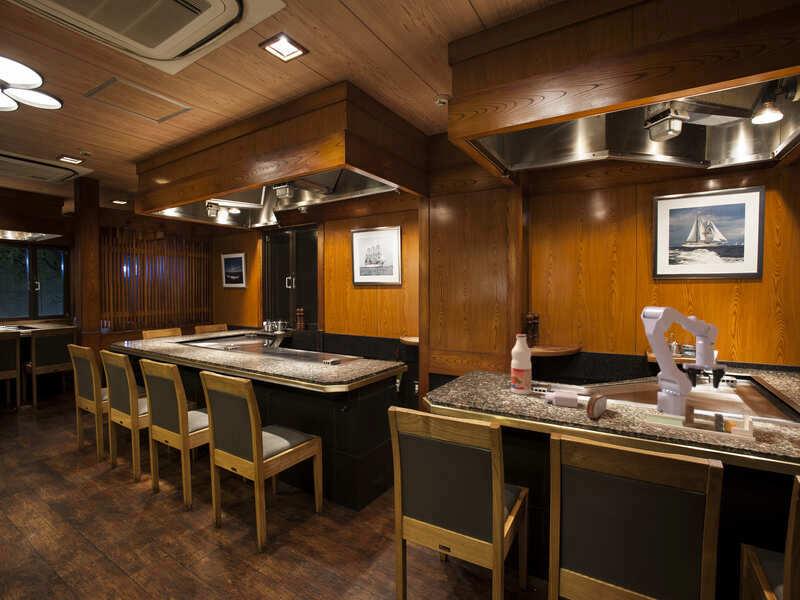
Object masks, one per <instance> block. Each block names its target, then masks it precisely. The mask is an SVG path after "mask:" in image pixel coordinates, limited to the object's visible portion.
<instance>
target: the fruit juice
mask: <svg viewBox="0 0 800 600" xmlns="http://www.w3.org/2000/svg"><path fill="white" fill-rule="evenodd" d="M515 337H516V338H515V339H516V342H515V345H514V347H512V349H511V358H512V359H511V362H510V363H511V364H510V391H511V393H512V392H513V394H515V393H516V395H523V394H524V395H530V394H532V361H531V357H532V351H531V349H530V347H529V346H528V343H527V339H528V338H527V334H525V333H524V334H523V333H517V334H516V335H515Z"/></svg>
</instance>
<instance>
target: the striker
mask: <svg viewBox="0 0 800 600" xmlns="http://www.w3.org/2000/svg"><path fill="white" fill-rule="evenodd" d="M684 418H685V421H683V420H682V426H689V427H695V428H702V429H709V430H715V431H722V432H723V424H724V416H723V414H722V413H714V421H713V422H714V425H710V424H703V423H696V422H694V419H695V404H694V403H689V402H686V403H685V415H684Z"/></svg>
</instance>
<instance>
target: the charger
mask: <svg viewBox="0 0 800 600" xmlns="http://www.w3.org/2000/svg"><path fill="white" fill-rule="evenodd" d="M539 398H541V399H544V401H546V402H552V405H553V406H555V405H557V406H556V407H564V406H565V407H566V408H573V409H574V408H575V409H577V408H578V393H577V392H568V391H560V390H559V391H557V390H556V391H553V393H552V394H545V395H540V397H539Z"/></svg>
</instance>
